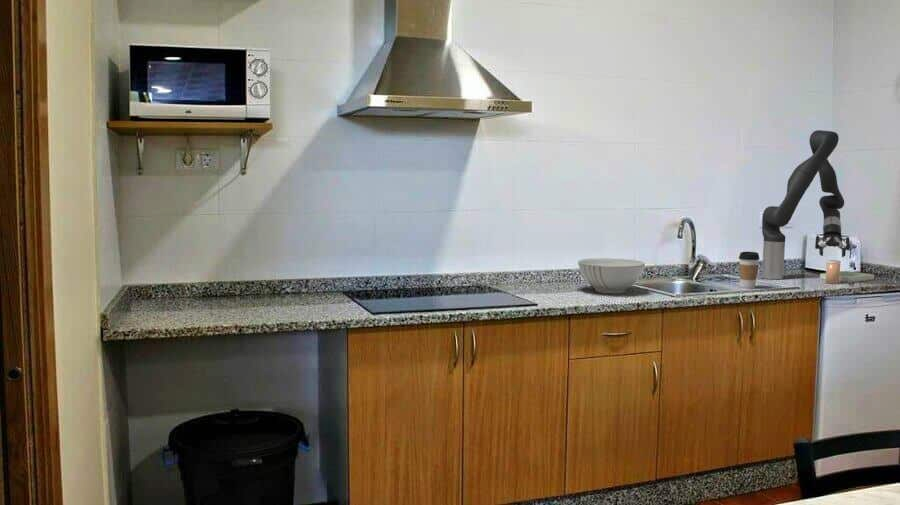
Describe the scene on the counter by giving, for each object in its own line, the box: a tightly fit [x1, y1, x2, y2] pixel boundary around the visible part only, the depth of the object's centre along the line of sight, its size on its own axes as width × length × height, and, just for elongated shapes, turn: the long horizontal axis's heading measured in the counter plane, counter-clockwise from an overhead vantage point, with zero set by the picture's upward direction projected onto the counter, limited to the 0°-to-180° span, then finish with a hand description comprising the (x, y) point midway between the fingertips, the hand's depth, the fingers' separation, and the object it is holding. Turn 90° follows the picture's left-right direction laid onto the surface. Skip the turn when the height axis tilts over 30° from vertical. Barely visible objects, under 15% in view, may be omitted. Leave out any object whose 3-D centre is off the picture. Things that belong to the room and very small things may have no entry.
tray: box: [819, 270, 875, 284], centre depth 358 cm, size 20×14×2 cm
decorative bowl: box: [577, 257, 646, 294], centre depth 318 cm, size 27×27×12 cm
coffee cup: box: [738, 251, 760, 290], centre depth 331 cm, size 8×8×15 cm
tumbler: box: [825, 259, 842, 285], centre depth 346 cm, size 6×6×10 cm
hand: (832, 255), depth 352 cm, fingers open, 8 cm apart
